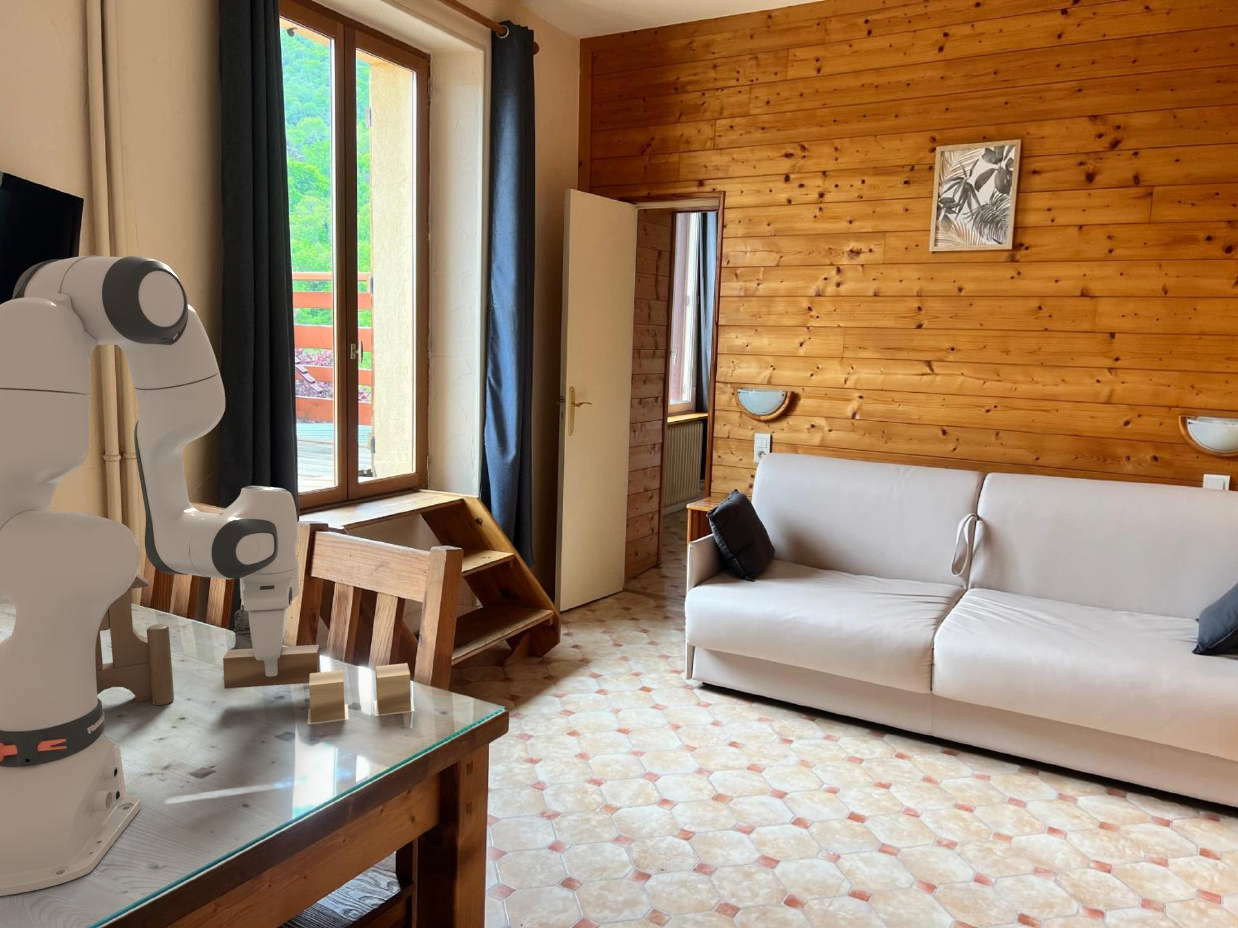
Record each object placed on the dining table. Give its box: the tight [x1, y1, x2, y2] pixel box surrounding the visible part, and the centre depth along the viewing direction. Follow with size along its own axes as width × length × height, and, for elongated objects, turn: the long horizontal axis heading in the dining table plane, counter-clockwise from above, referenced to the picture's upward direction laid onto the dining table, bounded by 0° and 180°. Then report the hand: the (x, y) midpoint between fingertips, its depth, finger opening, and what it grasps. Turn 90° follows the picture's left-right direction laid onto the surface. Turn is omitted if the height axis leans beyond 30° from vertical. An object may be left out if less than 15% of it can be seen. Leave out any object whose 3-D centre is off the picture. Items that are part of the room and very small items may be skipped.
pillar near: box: [308, 669, 346, 723], centre depth 138 cm, size 5×5×6 cm
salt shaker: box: [228, 603, 253, 650], centre depth 158 cm, size 6×6×12 cm
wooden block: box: [222, 644, 321, 690], centre depth 143 cm, size 4×14×5 cm, turn 103°
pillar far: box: [375, 662, 412, 714], centre depth 141 cm, size 5×5×6 cm
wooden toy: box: [95, 573, 175, 706], centre depth 141 cm, size 15×7×25 cm, turn 120°
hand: (273, 668), depth 143 cm, fingers closed on wooden block, 4 cm apart
